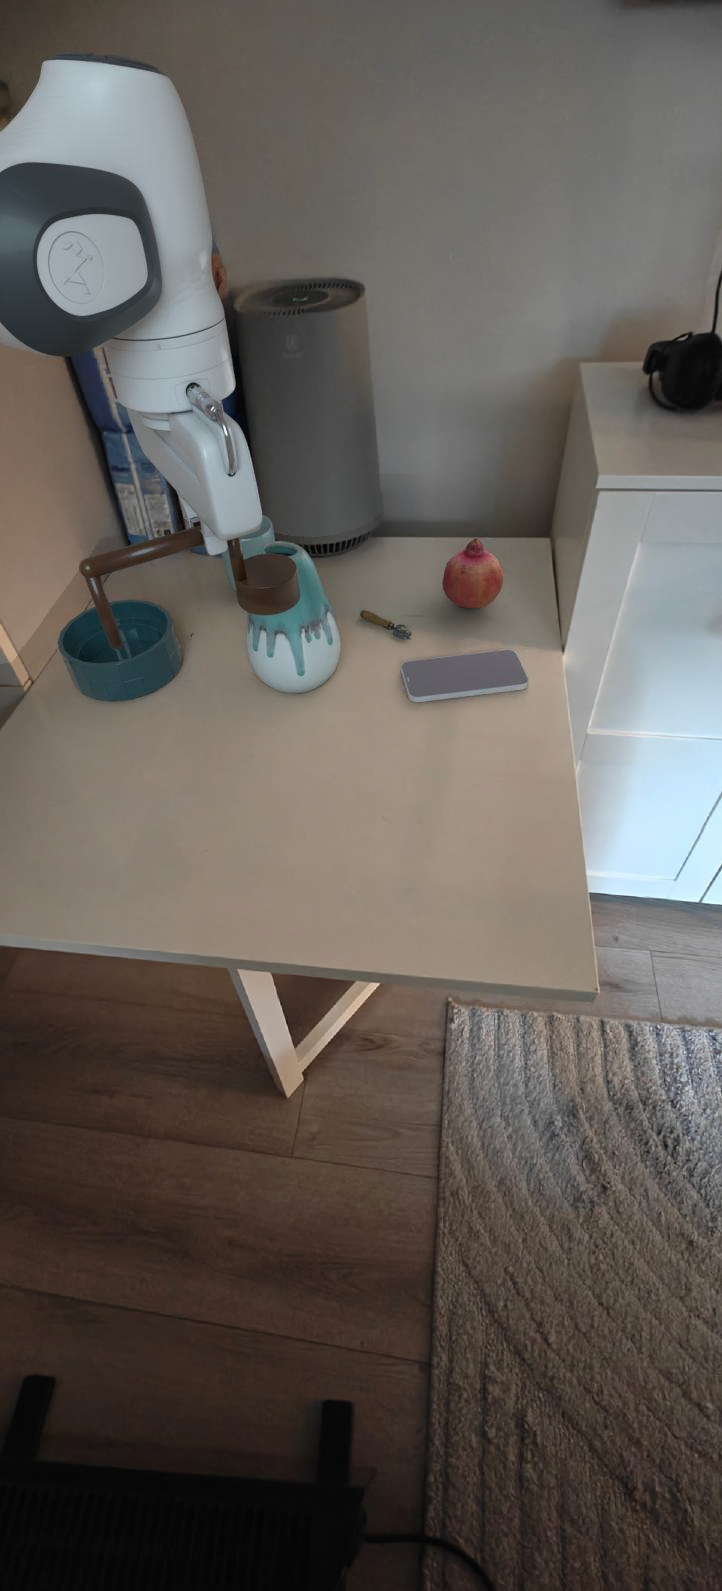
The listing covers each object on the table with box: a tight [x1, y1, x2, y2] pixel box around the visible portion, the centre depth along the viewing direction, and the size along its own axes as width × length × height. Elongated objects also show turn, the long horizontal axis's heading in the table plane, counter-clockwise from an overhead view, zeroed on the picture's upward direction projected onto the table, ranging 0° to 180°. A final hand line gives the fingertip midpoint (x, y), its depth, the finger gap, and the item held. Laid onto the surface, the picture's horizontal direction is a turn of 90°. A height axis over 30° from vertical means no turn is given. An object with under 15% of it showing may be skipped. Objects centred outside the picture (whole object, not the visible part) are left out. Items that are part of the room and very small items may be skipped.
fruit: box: [441, 538, 504, 609], centre depth 98 cm, size 8×8×10 cm
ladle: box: [78, 525, 300, 650], centre depth 65 cm, size 19×6×9 cm, turn 119°
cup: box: [220, 514, 276, 594], centre depth 104 cm, size 8×8×10 cm
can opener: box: [359, 609, 413, 641], centre depth 99 cm, size 9×2×1 cm, turn 44°
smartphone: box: [400, 648, 530, 703], centre depth 91 cm, size 7×1×15 cm
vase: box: [245, 540, 342, 694], centre depth 87 cm, size 12×12×18 cm
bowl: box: [57, 598, 183, 702], centre depth 94 cm, size 14×14×6 cm
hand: (209, 542), depth 64 cm, fingers closed on ladle
